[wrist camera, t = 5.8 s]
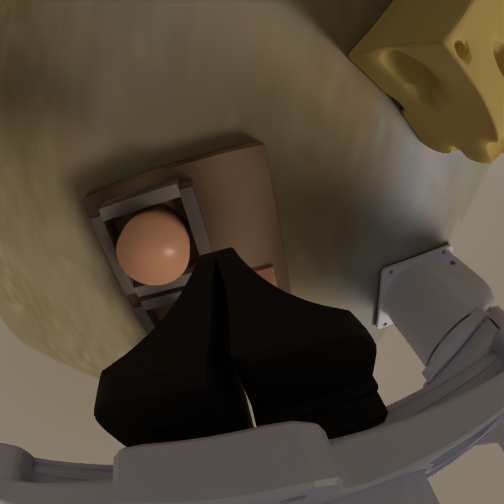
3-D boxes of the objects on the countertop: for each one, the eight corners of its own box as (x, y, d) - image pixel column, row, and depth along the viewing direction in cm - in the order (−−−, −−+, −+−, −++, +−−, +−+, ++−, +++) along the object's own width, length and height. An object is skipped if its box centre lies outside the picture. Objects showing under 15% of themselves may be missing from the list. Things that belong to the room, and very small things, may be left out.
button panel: (259, 140, 18) (270, 147, 16) (297, 359, 29) (306, 381, 27) (89, 191, 18) (74, 206, 15) (188, 386, 29) (190, 409, 26)
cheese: (422, 147, 20) (516, 185, 12) (335, 52, 16) (436, 33, 7) (469, 73, 17) (555, 88, 9) (398, -18, 13) (488, -42, 4)
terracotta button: (178, 197, 17) (176, 209, 15) (198, 258, 19) (198, 275, 18) (113, 218, 17) (104, 231, 15) (138, 275, 19) (133, 292, 17)
